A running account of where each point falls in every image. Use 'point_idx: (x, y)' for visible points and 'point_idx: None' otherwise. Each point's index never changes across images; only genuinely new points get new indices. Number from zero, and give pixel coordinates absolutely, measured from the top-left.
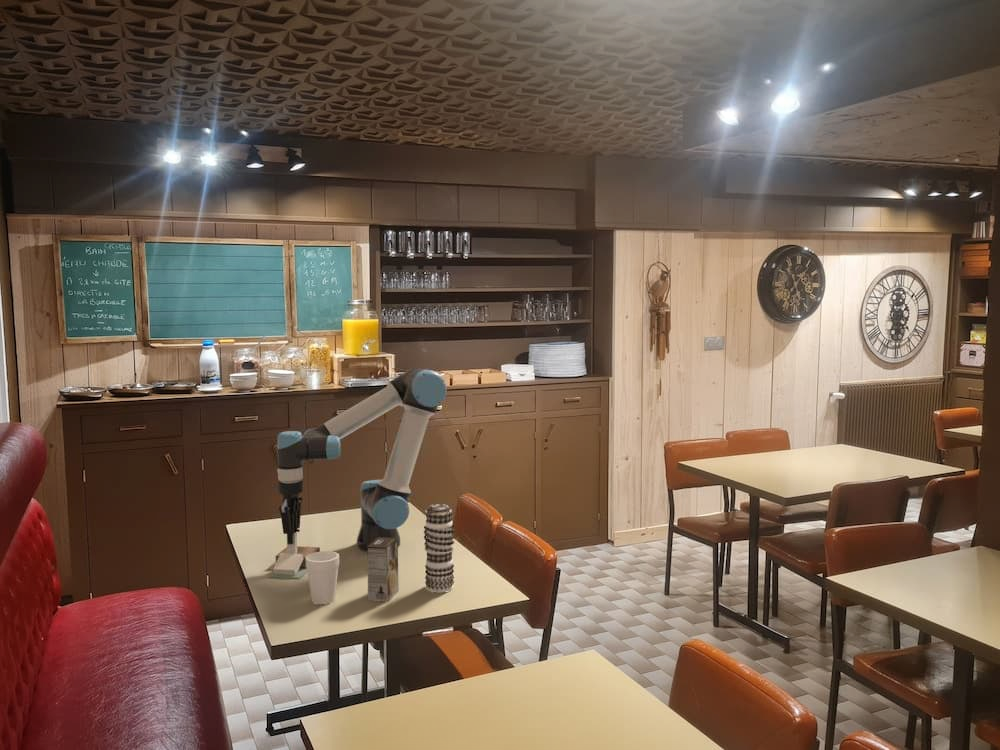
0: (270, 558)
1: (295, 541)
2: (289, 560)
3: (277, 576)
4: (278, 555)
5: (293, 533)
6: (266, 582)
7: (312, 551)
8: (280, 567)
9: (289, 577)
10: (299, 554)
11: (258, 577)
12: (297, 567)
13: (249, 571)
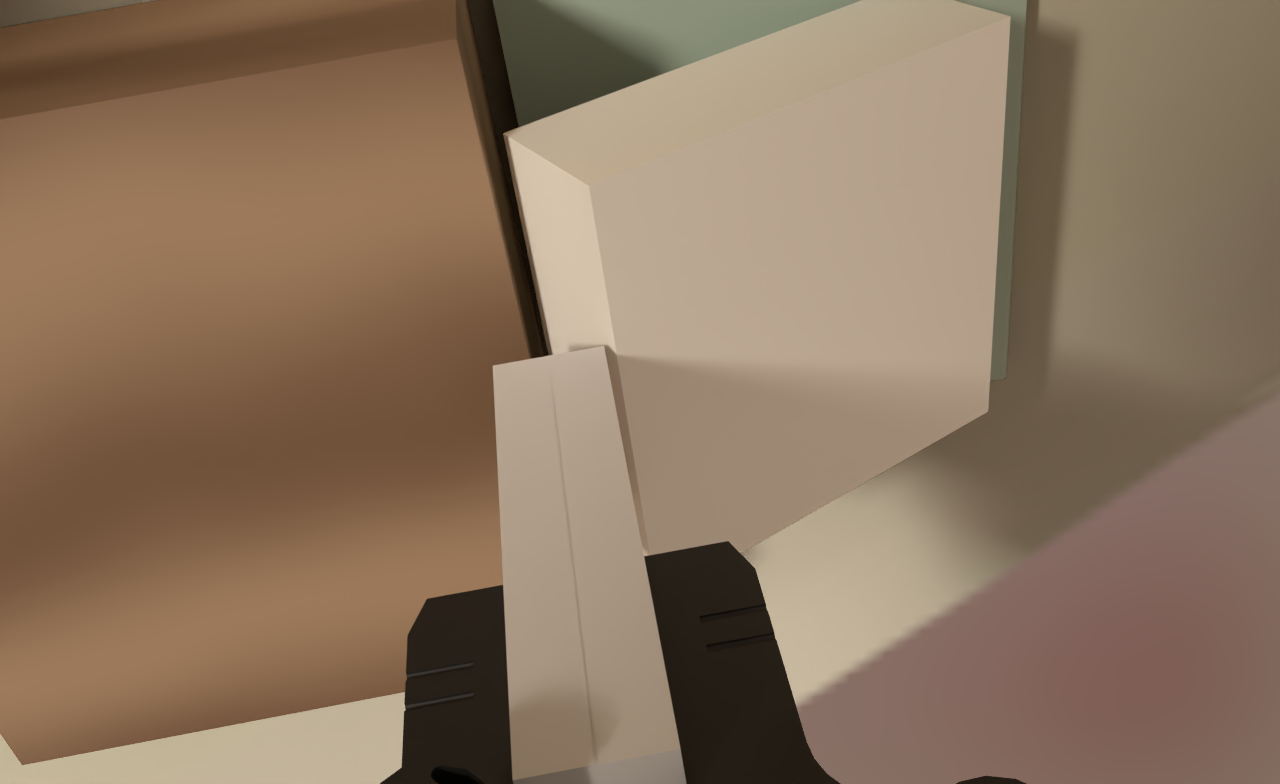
0: (246, 762)
1: (603, 555)
2: (804, 305)
3: (1002, 256)
4: None
5: (763, 778)
6: (1199, 283)
7: (18, 182)
8: (960, 324)
9: (1022, 37)
10: (621, 233)
11: (1000, 490)
12: (838, 44)
13: (796, 694)
